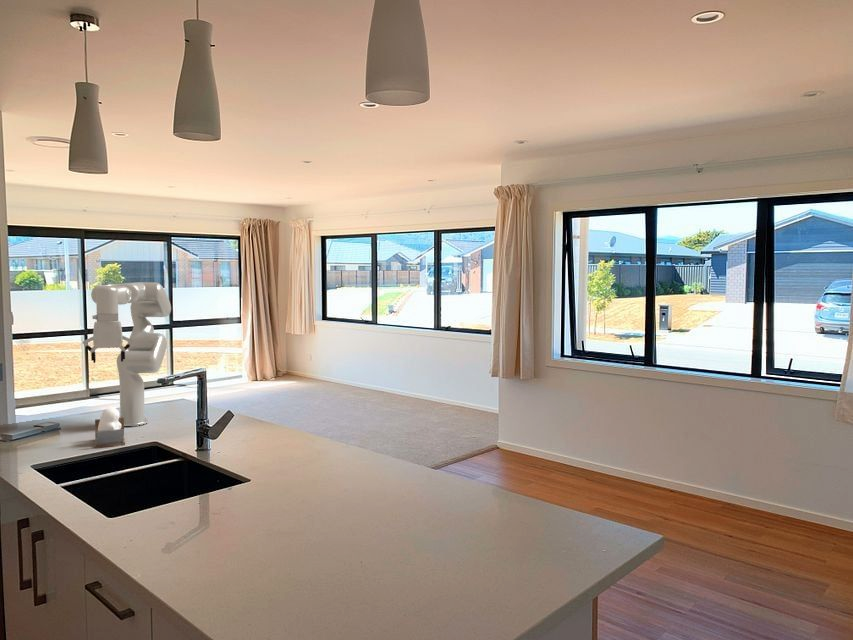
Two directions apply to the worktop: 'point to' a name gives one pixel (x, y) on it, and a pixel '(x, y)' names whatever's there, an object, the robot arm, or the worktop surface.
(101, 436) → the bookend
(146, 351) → the robot arm
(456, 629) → the worktop surface
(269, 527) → the worktop surface
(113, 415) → the figurine
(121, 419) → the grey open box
